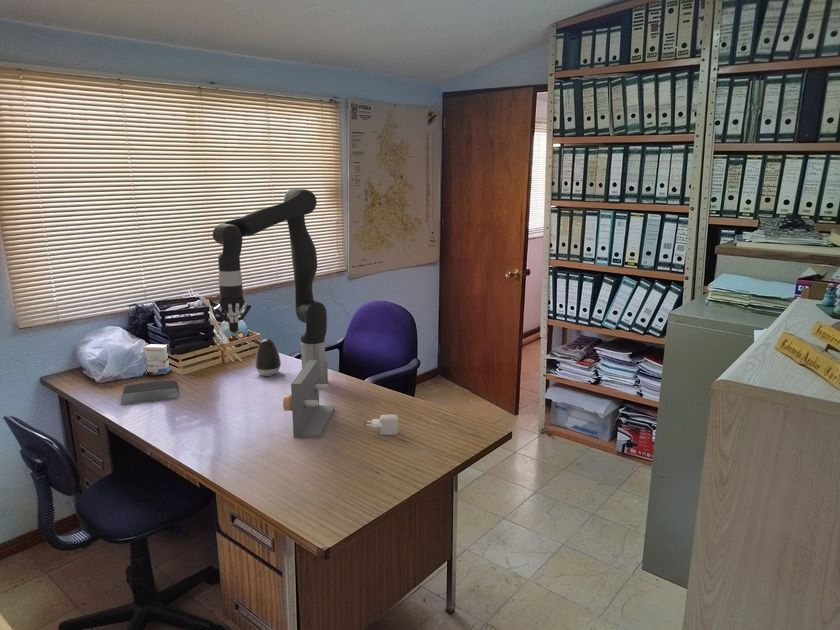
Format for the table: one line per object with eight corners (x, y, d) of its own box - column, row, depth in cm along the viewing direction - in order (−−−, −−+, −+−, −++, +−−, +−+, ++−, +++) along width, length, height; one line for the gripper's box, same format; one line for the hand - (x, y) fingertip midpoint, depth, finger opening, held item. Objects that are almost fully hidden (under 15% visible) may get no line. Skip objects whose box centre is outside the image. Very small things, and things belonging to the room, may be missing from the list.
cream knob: (295, 395, 203) (294, 381, 202) (299, 390, 208) (298, 376, 207) (326, 396, 203) (325, 382, 202) (328, 391, 208) (328, 377, 207)
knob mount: (293, 438, 189) (291, 383, 184) (310, 408, 212) (308, 360, 208) (320, 438, 188) (318, 384, 184) (334, 409, 211) (333, 360, 207)
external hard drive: (179, 399, 221) (178, 389, 220) (120, 406, 214) (119, 395, 213) (179, 387, 233) (178, 377, 232) (123, 394, 226) (122, 383, 225)
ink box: (172, 371, 251) (169, 344, 248) (165, 375, 246) (163, 347, 243) (152, 370, 252) (149, 343, 249) (146, 374, 247) (143, 346, 244)
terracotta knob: (283, 412, 189) (282, 398, 188) (287, 406, 194) (287, 392, 193) (316, 413, 188) (315, 398, 187) (319, 407, 193) (319, 393, 192)
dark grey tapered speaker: (260, 369, 253) (258, 335, 250) (284, 370, 252) (282, 335, 249) (251, 377, 244) (249, 341, 240) (276, 378, 243) (274, 342, 239)
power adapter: (362, 436, 190) (362, 419, 189) (363, 430, 195) (363, 413, 193) (398, 436, 190) (397, 419, 189) (398, 429, 195) (397, 413, 194)
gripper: (213, 286, 198) (217, 337, 202) (253, 283, 205) (256, 332, 209) (207, 283, 204) (211, 332, 208) (246, 279, 211) (249, 327, 215)
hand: (234, 332), depth 208 cm, fingers closed
